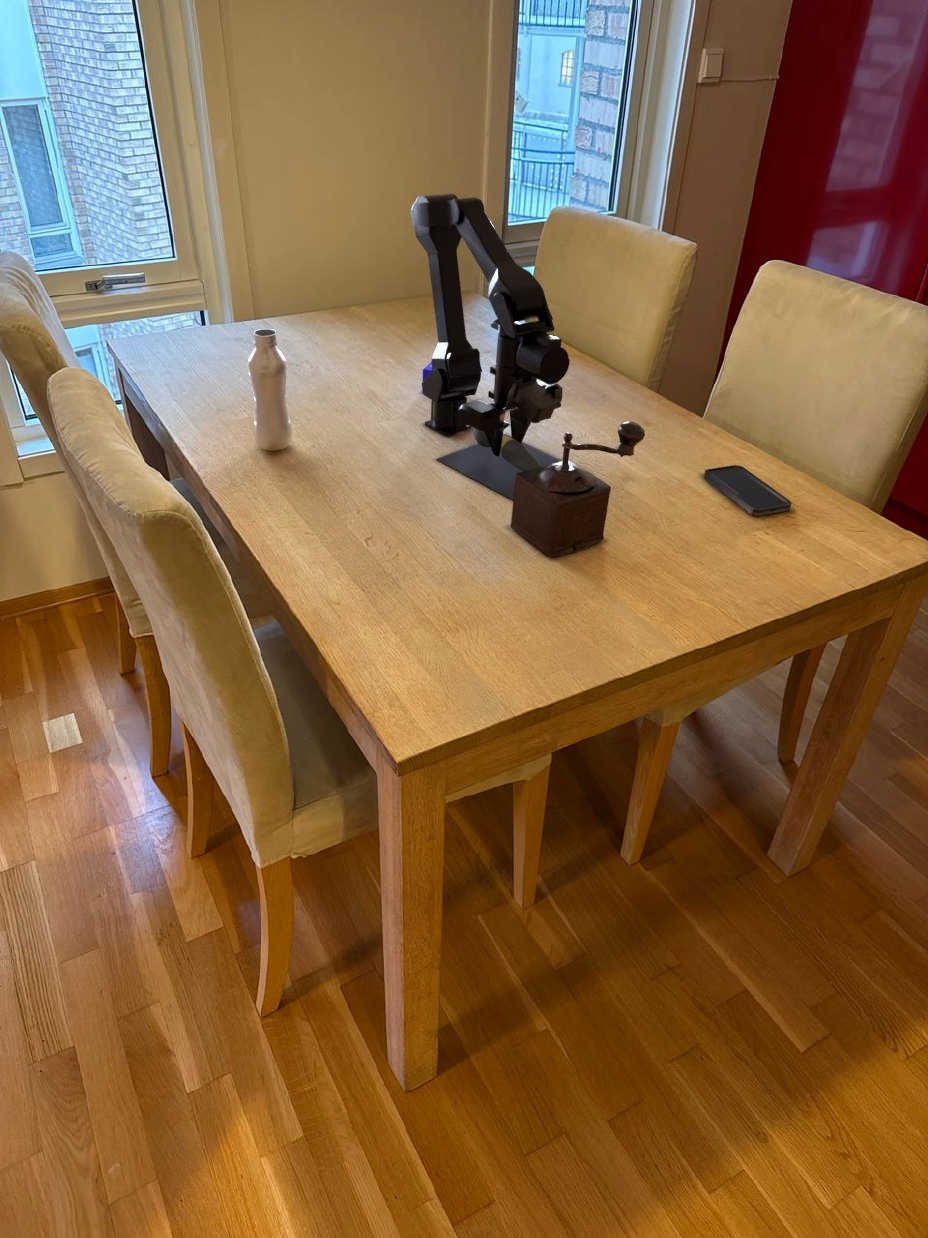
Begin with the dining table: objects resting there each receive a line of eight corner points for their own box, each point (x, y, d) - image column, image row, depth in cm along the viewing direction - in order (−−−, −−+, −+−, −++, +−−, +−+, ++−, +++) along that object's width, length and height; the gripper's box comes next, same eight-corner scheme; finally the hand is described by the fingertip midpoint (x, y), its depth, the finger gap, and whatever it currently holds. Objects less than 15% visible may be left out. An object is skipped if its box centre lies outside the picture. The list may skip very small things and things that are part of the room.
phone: (739, 464, 157) (794, 503, 146) (738, 470, 157) (792, 510, 146) (701, 469, 154) (754, 510, 143) (700, 475, 155) (753, 517, 144)
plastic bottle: (300, 442, 158) (292, 329, 146) (281, 458, 153) (272, 341, 141) (267, 435, 160) (257, 323, 148) (247, 450, 154) (236, 335, 143)
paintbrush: (557, 475, 149) (561, 447, 146) (536, 483, 147) (539, 455, 144) (480, 433, 161) (482, 406, 158) (459, 439, 159) (460, 413, 156)
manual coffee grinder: (552, 561, 130) (567, 447, 120) (508, 527, 137) (518, 417, 127) (632, 535, 137) (652, 425, 127) (586, 504, 145) (601, 398, 134)
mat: (435, 459, 155) (435, 458, 155) (505, 434, 165) (505, 433, 165) (518, 504, 144) (519, 503, 144) (587, 474, 154) (588, 473, 153)
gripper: (508, 391, 134) (500, 485, 143) (589, 365, 145) (577, 453, 154) (458, 369, 140) (453, 460, 150) (539, 345, 151) (530, 431, 160)
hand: (506, 451), depth 153 cm, fingers closed on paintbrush, 4 cm apart
